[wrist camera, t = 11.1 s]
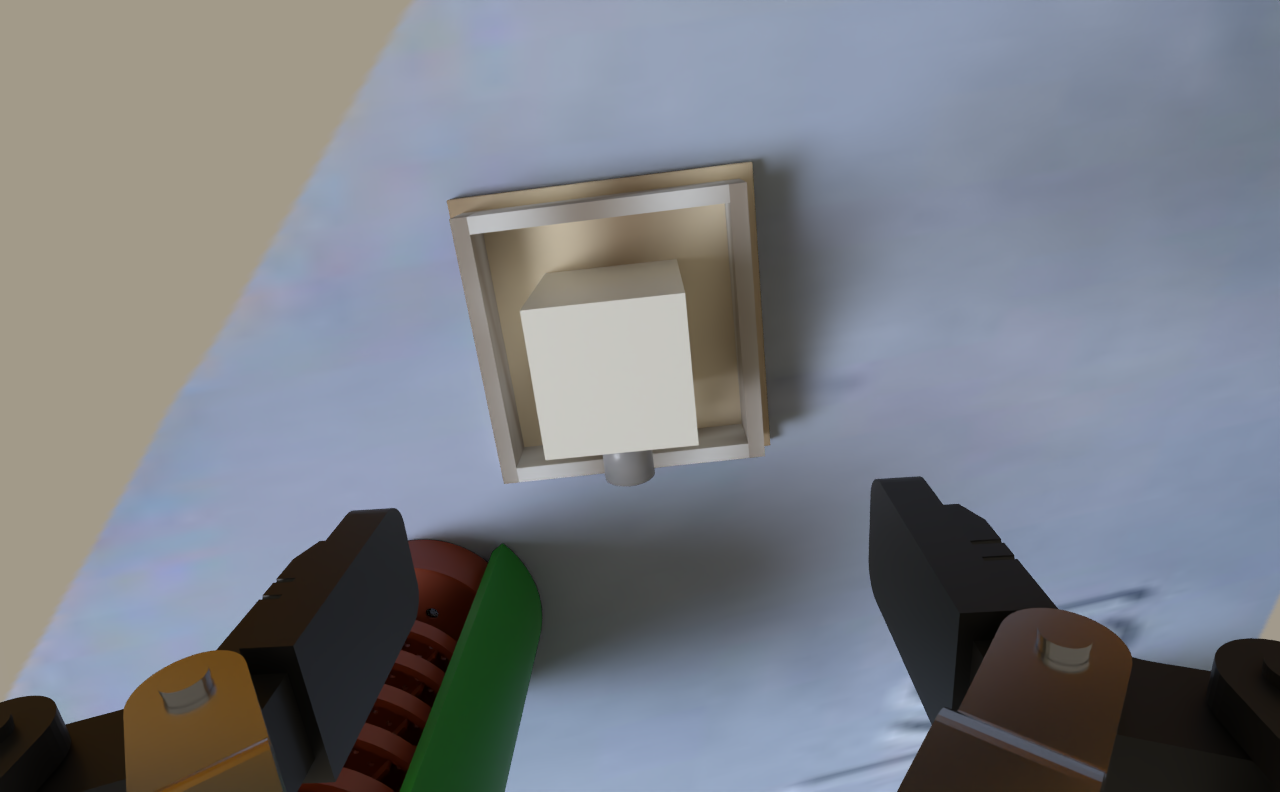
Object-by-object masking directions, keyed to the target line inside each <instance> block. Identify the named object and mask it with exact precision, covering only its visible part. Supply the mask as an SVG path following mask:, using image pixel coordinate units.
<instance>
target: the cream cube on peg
mask: <svg viewBox="0 0 1280 792" xmlns="http://www.w3.org/2000/svg"><path fill="white" fill-rule="evenodd" d="M520 315H521V321H522V327H523V332H524V338H525V344H526V350H527V356H528V362H529V367H530V373H531V379H532V385H533V391H534V397H535V402H536V408H537V414H538V420H539V426H540V432H541V437H542V443H543V449H544V455H545V460H554V459H564V458H574V457H584V456H594V455H602V456H603V463H604V470H605V477H606V480H607V482H608V483H610V484H612V485H615V486H635V485H639V484H642V483H645V482H647V481H649V480H650V479H651V478H652V477H653V476H654V474H655V470H654V461H653V453H652V450H655V449H666V448H676V447H686V446H696V445H699V442H698V431H697V419H696V408H695V397H694V386H693V375H692V364H691V353H690V342H689V330H688V319H687V308H686V297H685V290H684V286H683V282H682V278H681V274H680V270H679V266H678V262H677V259H671V260H662V261H653V262H644V263H635V264H625V265H616V266H607V267H598V268H589V269H580V270H571V271H562V272H552V273H545V275H544V276H543V277H542V279H541V280H540V282H539V283H538V285H537V286H536V288H535V289H534V291H533V292H532V294H531V295H530V296H529V298H528V299H527V301H526V302H525V304H524V305H523V307H522V308H521V310H520Z"/></svg>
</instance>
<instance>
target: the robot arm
mask: <svg viewBox="0 0 1280 792" xmlns="http://www.w3.org/2000/svg"><path fill="white" fill-rule="evenodd" d="M869 574H870V581H871V586H872V590H873V594H874V597H875V600H876V602H877V604H878V606H879V609H880V611H881V613H882V615H883V617H884V620H885V622H886V624H887V626H888V629H889V631H890V633H891V635H892V637H893V640H894V642H895V644H896V646H897V649H898V651H899V653H900V655H901V657H902V660H903V662H904V664H905V666H906V669H907V671H908V673H909V675H910V677H911V680H912V682H913V684H914V686H915V689H916V691H917V693H918V695H919V697H920V700H921V702H922V704H923V706H924V709H925V711H926V713H927V715H928V717H929V720H930V722H931V724H932V726H931V728H930V730H929V731H928V733H927V735H926V737H925V739H924V741H923V743H922V745H921V747H920V749H919V751H918V753H917V754H916V756H915V758H914V760H913V762H912V764H911V766H910V768H909V770H908V772H907V774H906V775H905V777H904V779H903V781H902V783H901V785H900V787H899V789H898V791H897V792H1280V642H1279V641H1274V640H1267V639H1252V638H1250V639H1239V640H1234V641H1230V642H1228V643H1225V644H1223V645H1222V646H1221V647H1220V648H1219V649H1218V650H1217V652H1216V654H1215V658H1214V662H1213V666H1212V670H1211V671H1206V670H1199V669H1193V668H1187V667H1181V666H1175V665H1168V664H1162V663H1156V662H1151V661H1146V660H1141V659H1137V658H1133V657H1132V656H1131V653H1130V651H1129V649H1128V647H1127V646H1126V644H1125V643H1124V642H1123V641H1122V640H1121V639H1120V638H1119V637H1118V636H1117V635H1116V634H1115V633H1114V632H1112V631H1111V630H1109V629H1108V628H1107V627H1105V626H1103V625H1101V624H1100V623H1098V622H1096V621H1094V620H1092V619H1089V618H1087V617H1085V616H1082V615H1079V614H1076V613H1073V612H1069V611H1065V610H1059V609H1058V608H1057V607H1056V606H1055V604H1054V603H1053V602H1052V601H1051V600H1050V598H1049V597H1048V596H1047V595H1046V593H1045V592H1044V591H1043V590H1042V589H1041V587H1040V586H1039V585H1038V584H1037V582H1036V581H1035V580H1034V579H1033V578H1032V576H1031V575H1030V574H1029V573H1028V571H1027V570H1026V569H1025V568H1024V567H1023V565H1022V564H1021V563H1020V562H1019V560H1018V559H1014V554H1013V553H1012V552H1011V551H1010V549H1009V548H1008V547H1007V546H1006V545H1005V543H1001V538H1000V537H999V536H998V535H997V534H996V532H995V531H994V530H993V529H992V527H991V526H990V525H989V524H988V523H987V521H986V520H985V519H983V518H981V517H980V516H978V515H976V514H975V513H973V512H971V511H970V510H968V509H966V508H964V507H963V506H961V505H959V504H949V505H943V504H942V503H941V501H940V500H939V499H938V497H937V496H936V494H935V493H934V492H933V490H932V489H931V488H930V486H929V485H928V484H927V482H926V481H925V480H924V479H923V478H922V477H903V478H887V479H875V480H874V481H873V483H872V487H871V500H870V533H869ZM418 606H419V589H418V583H417V578H416V574H415V570H414V565H413V561H412V556H411V552H410V548H409V543H408V539H407V534H406V530H405V526H404V522H403V518H402V516H401V514H400V512H399V511H398V510H397V509H395V508H388V509H372V510H356V511H351V512H349V513H348V514H347V515H346V516H345V517H344V519H343V520H342V521H341V522H340V524H339V525H338V526H337V527H336V529H335V530H334V531H333V532H332V534H331V535H330V536H329V537H328V538H327V540H326V541H319V542H318V543H316V544H315V545H313V546H312V547H310V548H309V549H308V550H306V551H305V552H303V553H302V554H300V555H299V556H297V557H296V558H294V559H293V560H292V561H291V563H290V564H289V565H288V566H287V567H286V568H285V570H284V571H283V572H282V573H281V574H280V576H279V577H278V578H277V582H276V583H273V584H272V585H271V586H270V587H269V589H268V590H267V591H266V592H265V593H264V594H263V599H262V600H258V602H257V603H256V604H255V605H254V606H253V607H252V609H251V610H250V611H249V612H248V613H247V615H246V616H245V617H244V618H243V619H242V620H241V622H240V623H239V624H238V625H237V626H236V628H235V629H234V630H233V631H232V632H231V633H230V635H229V636H228V637H227V638H226V639H225V641H224V642H223V643H222V644H221V645H220V646H219V648H218V649H217V650H215V651H208V652H202V653H199V654H195V655H192V656H189V657H186V658H183V659H181V660H179V661H176V662H174V663H172V664H170V665H168V666H166V667H164V668H163V669H161V670H159V671H158V672H156V673H155V674H153V675H152V676H150V677H149V678H148V679H147V680H145V681H144V682H143V683H142V684H141V685H140V686H139V687H137V689H136V690H135V691H134V692H133V693H132V694H131V696H130V697H129V699H128V700H127V702H126V704H125V707H124V709H122V710H119V711H115V712H111V713H107V714H104V715H100V716H96V717H92V718H89V719H85V720H81V721H77V722H73V723H70V724H66V725H65V723H64V721H63V719H62V717H61V715H60V712H59V710H58V708H57V706H56V704H55V702H54V701H53V700H52V699H50V698H48V697H44V696H26V697H19V698H15V699H11V700H7V701H4V702H1V703H0V792H298V790H299V788H300V786H301V784H305V783H329V782H336V780H337V778H338V776H339V774H340V772H341V770H342V768H343V766H344V764H345V762H346V760H347V758H348V756H349V754H350V752H351V750H352V748H353V746H354V744H355V742H356V740H357V738H358V736H359V734H360V732H361V730H362V728H363V726H364V724H365V722H366V720H367V718H368V716H369V714H370V712H371V710H372V708H373V706H374V704H375V702H376V700H377V698H378V696H379V694H380V692H381V690H382V687H383V685H384V683H385V681H386V679H387V677H388V675H389V673H390V671H391V669H392V667H393V665H394V663H395V661H396V659H397V657H398V655H399V653H400V651H401V649H402V647H403V645H404V643H405V641H406V639H407V637H408V635H409V633H410V631H411V629H412V627H413V625H414V623H415V620H416V617H417V613H418Z"/></svg>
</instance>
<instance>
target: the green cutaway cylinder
mask: <svg viewBox="0 0 1280 792" xmlns="http://www.w3.org/2000/svg"><path fill="white" fill-rule="evenodd" d="M408 543H409V548H410V552H411V556H412V561H413V565H414V570H415V574H416V578H417V583H418V589H419V606H418V613H417V617H416V620H415V623H414V625H413V627H412V629H411V631H410V633H409V635H408V637H407V639H406V641H405V643H404V645H403V647H402V649H401V651H400V653H399V655H398V657H397V659H396V661H395V663H394V665H393V667H392V669H391V671H390V673H389V675H388V677H387V679H386V681H385V683H384V685H383V687H382V690H381V692H380V694H379V696H378V698H377V700H376V702H375V704H374V706H373V708H372V710H371V712H370V714H369V716H368V718H367V720H366V722H365V724H364V726H363V728H362V730H361V732H360V734H359V736H358V738H357V740H356V742H355V744H354V746H353V748H352V750H351V752H350V754H349V756H348V758H347V760H346V762H345V764H344V766H343V768H342V770H341V772H340V774H339V776H338V778H337V780H336V782H329V783H305V784H301V786H300V788H299V790H298V792H505V788H506V783H507V779H508V774H509V770H510V766H511V761H512V757H513V752H514V748H515V743H516V739H517V735H518V730H519V726H520V721H521V717H522V713H523V708H524V704H525V699H526V695H527V691H528V686H529V682H530V677H531V673H532V668H533V664H534V660H535V655H536V651H537V646H538V642H539V638H540V633H541V627H542V607H541V601H540V597H539V594H538V590H537V588H536V585H535V583H534V581H533V579H532V577H531V575H530V573H529V572H528V570H527V569H526V567H525V566H524V564H523V563H522V562H521V560H520V559H519V558H518V557H517V556H516V555H515V554H514V553H513V552H512V551H511V550H510V549H509V548H508V547H507V546H506V545H504V544H501V545H500V546H499V547H498V548H496V549H495V550H494V551H493V552H492V554H491V557H490V559H489V562H486V561H485V560H484V559H482V558H481V557H480V556H478V555H476V554H475V553H473V552H471V551H469V550H467V549H465V548H463V547H460V546H458V545H455V544H451V543H448V542H443V541H437V540H410V541H408ZM429 608H433V609H436V610H437V611H438V616H437V617H430V616H428V615H427V613H426V610H427V609H429Z"/></svg>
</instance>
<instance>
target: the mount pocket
mask: <svg viewBox="0 0 1280 792" xmlns="http://www.w3.org/2000/svg"><path fill="white" fill-rule="evenodd" d="M447 204H448V209H449V214H450V219H449V221H450V226H451V230H452V235H453V240H454V245H455V250H456V255H457V259H458V264H459V269H460V274H461V279H462V283H463V288H464V293H465V298H466V303H467V308H468V312H469V317H470V322H471V327H472V332H473V337H474V341H475V346H476V351H477V356H478V361H479V365H480V370H481V375H482V380H483V385H484V390H485V394H486V399H487V404H488V409H489V414H490V418H491V423H492V428H493V433H494V438H495V443H496V447H497V452H498V457H499V462H500V467H501V472H502V476H503V481H504V484H508V483H517V482H527V481H536V480H546V479H555V478H564V477H574V476H583V475H593V474H602V473H605V470H604V463H603V456H602V455H594V456H584V457H574V458H564V459H554V460H545V455H544V449H543V443H542V437H541V432H540V426H539V420H538V414H537V408H536V402H535V397H534V391H533V385H532V379H531V373H530V367H529V362H528V356H527V350H526V344H525V338H524V332H523V327H522V321H521V315H520V310H521V308H522V307H523V305H524V304H525V302H526V301H527V299H528V298H529V296H530V295H531V294H532V292H533V291H534V289H535V288H536V286H537V285H538V283H539V282H540V280H541V279H542V277H543V276H544V275H545V273H552V272H562V271H571V270H580V269H589V268H598V267H607V266H616V265H625V264H635V263H644V262H653V261H662V260H671V259H677V262H678V266H679V270H680V274H681V278H682V282H683V286H684V290H685V297H686V308H687V319H688V330H689V342H690V353H691V364H692V375H693V386H694V397H695V408H696V419H697V431H698V442H699V445H696V446H686V447H676V448H666V449H655V450H652V453H653V461H654V468H658V467H668V466H677V465H686V464H696V463H705V462H715V461H724V460H733V459H743V458H752V457H762V456H765V449H764V446H767V445H770V433H769V418H768V402H767V386H766V371H765V355H764V339H763V323H762V308H761V292H760V276H759V261H758V245H757V229H756V213H755V198H754V182H753V166H752V162H742V163H734V164H726V165H718V166H710V167H702V168H694V169H686V170H679V171H671V172H663V173H655V174H647V175H639V176H631V177H623V178H615V179H607V180H599V181H591V182H583V183H575V184H567V185H559V186H551V187H543V188H535V189H527V190H519V191H511V192H503V193H495V194H487V195H479V196H472V197H464V198H456V199H450V200H447Z"/></svg>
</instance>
